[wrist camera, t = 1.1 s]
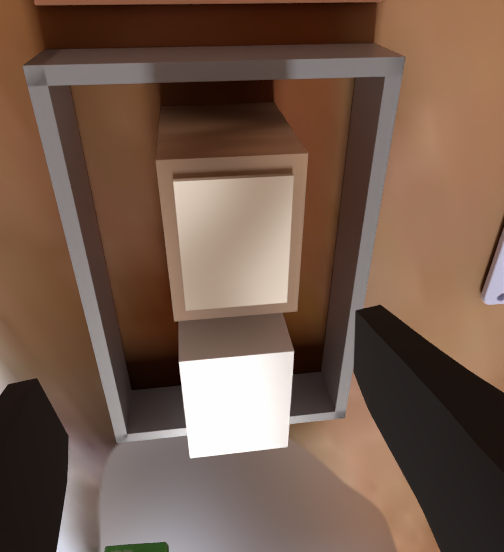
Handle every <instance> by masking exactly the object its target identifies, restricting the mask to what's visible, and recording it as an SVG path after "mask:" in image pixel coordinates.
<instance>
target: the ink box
mask: <svg viewBox="0 0 504 552" xmlns="http://www.w3.org/2000/svg"><path fill="white" fill-rule="evenodd" d="M105 552H169V547H168V545H167V543H166V542H160V543H144V544H128V545H118V546H106V547H105Z"/></svg>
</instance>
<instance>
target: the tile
mask: <svg viewBox="0 0 504 552" xmlns="http://www.w3.org/2000/svg"><path fill="white" fill-rule="evenodd" d="M335 2H381V0H34V3H35V5H124V4H229V3H335Z"/></svg>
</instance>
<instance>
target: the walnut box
mask: <svg viewBox="0 0 504 552" xmlns="http://www.w3.org/2000/svg"><path fill="white" fill-rule="evenodd" d="M307 164H308V152H307V151H306V149H305V148H304V146H303V145H302V143H301V142H300V140H299V139H298V137H297V136H296V134H295V133H294V131H293V130H292V128H291V127H290V125H289V124H288V122H287V121H286V119H285V118H284V116H283V115H282V113H281V112H280V111H279V109H278V108H277V106H276V105H275V103H274V102H270V103H240V104H210V105H180V106H161V107H160V118H159V128H158V139H157V150H156V169H157V177H158V186H159V194H160V203H161V212H162V220H163V229H164V237H165V246H166V255H167V263H168V272H169V280H170V289H171V297H172V306H173V315H174V321H186V320H198V319H210V318H222V317H234V316H246V315H258V314H270V313H282V312H294V311H297V307H298V293H299V278H300V264H301V250H302V235H303V221H304V207H305V193H306V178H307Z"/></svg>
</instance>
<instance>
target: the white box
mask: <svg viewBox="0 0 504 552" xmlns="http://www.w3.org/2000/svg"><path fill="white" fill-rule="evenodd" d="M178 326H179V368H180V376H181V385H182V394H183V402H184V411H185V419H186V428H187V436H188V444H189V453H190V458H195V457H204V456H212V455H221V454H230V453H239V452H247V451H256V450H265V449H274V448H281V447H287V446H288V433H289V419H290V405H291V390H292V376H293V362H294V349H293V346H292V342H291V339H290V336H289V332H288V329H287V326H286V322H285V319H284V316H283V312H282V313H270V314H258V315H246V316H234V317H222V318H210V319H198V320H186V321H178Z"/></svg>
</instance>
